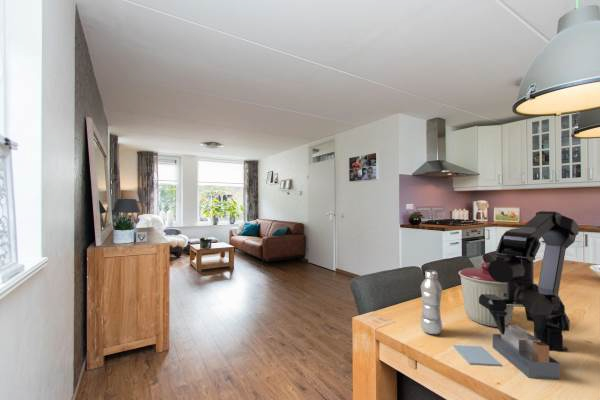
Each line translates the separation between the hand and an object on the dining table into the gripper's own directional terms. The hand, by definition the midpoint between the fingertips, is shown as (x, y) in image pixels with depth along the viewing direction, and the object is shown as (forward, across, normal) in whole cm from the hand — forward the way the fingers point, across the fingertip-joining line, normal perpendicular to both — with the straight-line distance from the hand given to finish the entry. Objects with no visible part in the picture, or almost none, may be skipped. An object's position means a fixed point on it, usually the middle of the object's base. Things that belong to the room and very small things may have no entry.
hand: (520, 334), depth 74 cm
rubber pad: (+7, -11, +1) cm, 13 cm away
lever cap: (+3, 0, 0) cm, 3 cm away
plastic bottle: (+7, -18, +14) cm, 24 cm away
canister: (+7, +6, +25) cm, 27 cm away
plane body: (+7, 0, -1) cm, 7 cm away
